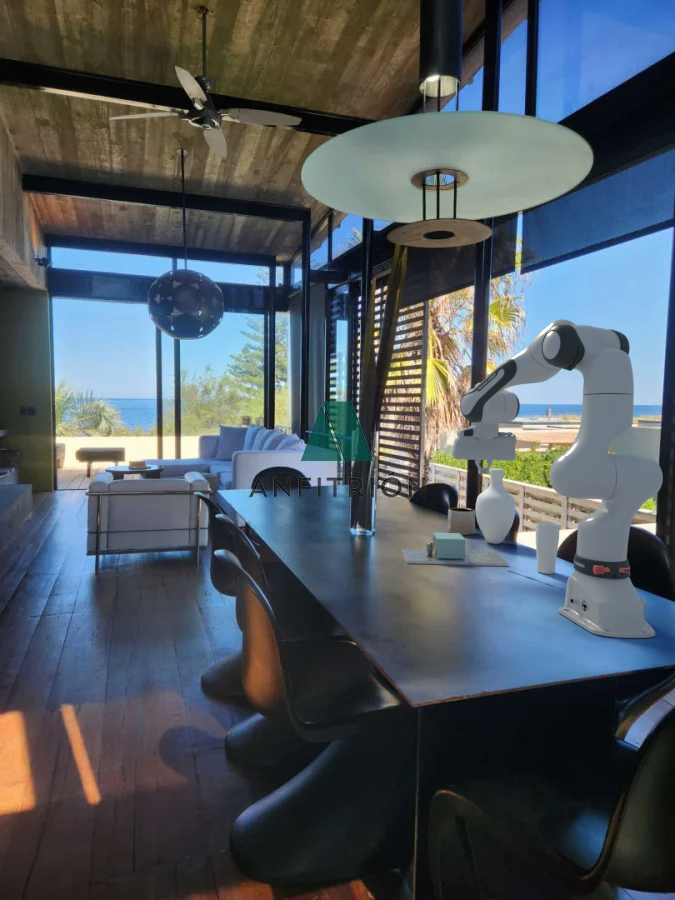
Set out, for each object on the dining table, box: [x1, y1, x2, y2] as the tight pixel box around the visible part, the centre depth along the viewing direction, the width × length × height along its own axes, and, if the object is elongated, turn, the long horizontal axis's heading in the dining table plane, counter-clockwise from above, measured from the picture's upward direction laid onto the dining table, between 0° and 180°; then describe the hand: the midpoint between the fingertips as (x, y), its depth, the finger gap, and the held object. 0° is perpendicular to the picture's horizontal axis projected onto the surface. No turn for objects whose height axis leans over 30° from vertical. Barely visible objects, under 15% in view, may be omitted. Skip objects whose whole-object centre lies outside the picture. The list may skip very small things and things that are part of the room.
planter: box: [446, 507, 476, 536], centre depth 238 cm, size 11×11×10 cm
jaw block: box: [434, 539, 437, 557], centre depth 194 cm, size 4×4×5 cm
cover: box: [432, 532, 467, 559], centre depth 194 cm, size 10×9×6 cm
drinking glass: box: [535, 521, 560, 575], centre depth 179 cm, size 7×7×15 cm
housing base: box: [401, 542, 509, 567], centre depth 194 cm, size 16×32×5 cm, turn 89°
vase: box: [475, 467, 516, 545], centre depth 219 cm, size 14×14×28 cm
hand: (483, 473), depth 192 cm, fingers closed
